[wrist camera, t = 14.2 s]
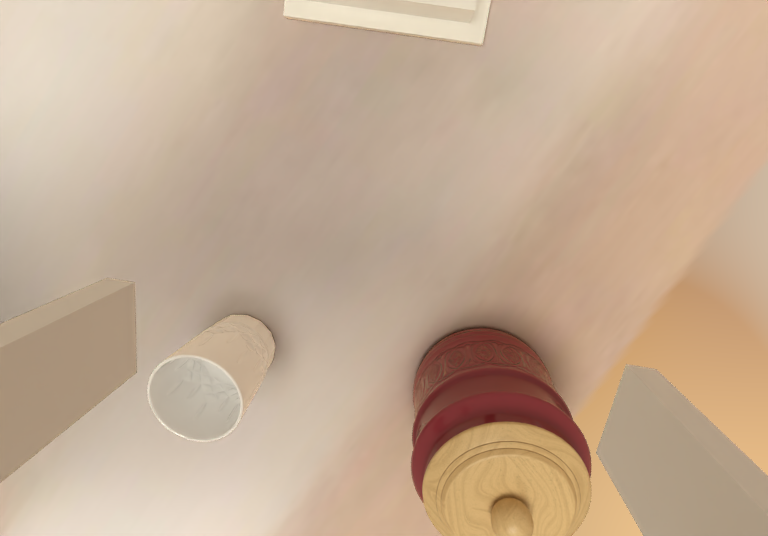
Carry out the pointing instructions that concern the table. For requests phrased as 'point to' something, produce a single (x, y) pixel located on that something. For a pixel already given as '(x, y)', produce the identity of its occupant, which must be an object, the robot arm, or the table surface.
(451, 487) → the canister
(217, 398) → the white cup
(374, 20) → the white square tray
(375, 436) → the table surface
